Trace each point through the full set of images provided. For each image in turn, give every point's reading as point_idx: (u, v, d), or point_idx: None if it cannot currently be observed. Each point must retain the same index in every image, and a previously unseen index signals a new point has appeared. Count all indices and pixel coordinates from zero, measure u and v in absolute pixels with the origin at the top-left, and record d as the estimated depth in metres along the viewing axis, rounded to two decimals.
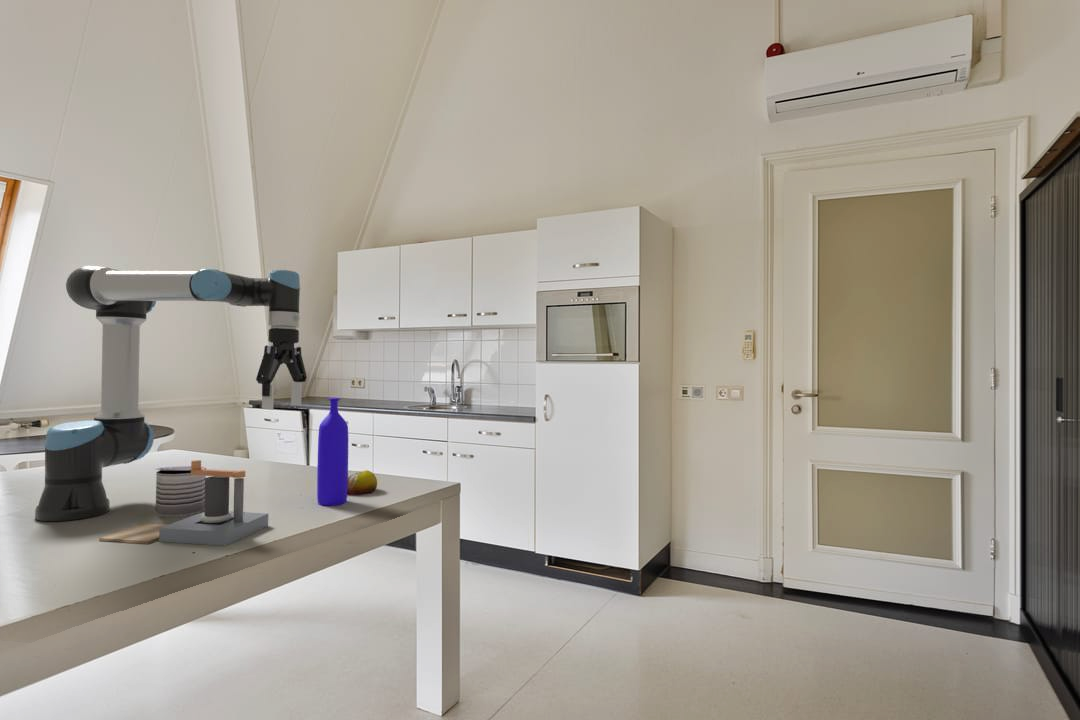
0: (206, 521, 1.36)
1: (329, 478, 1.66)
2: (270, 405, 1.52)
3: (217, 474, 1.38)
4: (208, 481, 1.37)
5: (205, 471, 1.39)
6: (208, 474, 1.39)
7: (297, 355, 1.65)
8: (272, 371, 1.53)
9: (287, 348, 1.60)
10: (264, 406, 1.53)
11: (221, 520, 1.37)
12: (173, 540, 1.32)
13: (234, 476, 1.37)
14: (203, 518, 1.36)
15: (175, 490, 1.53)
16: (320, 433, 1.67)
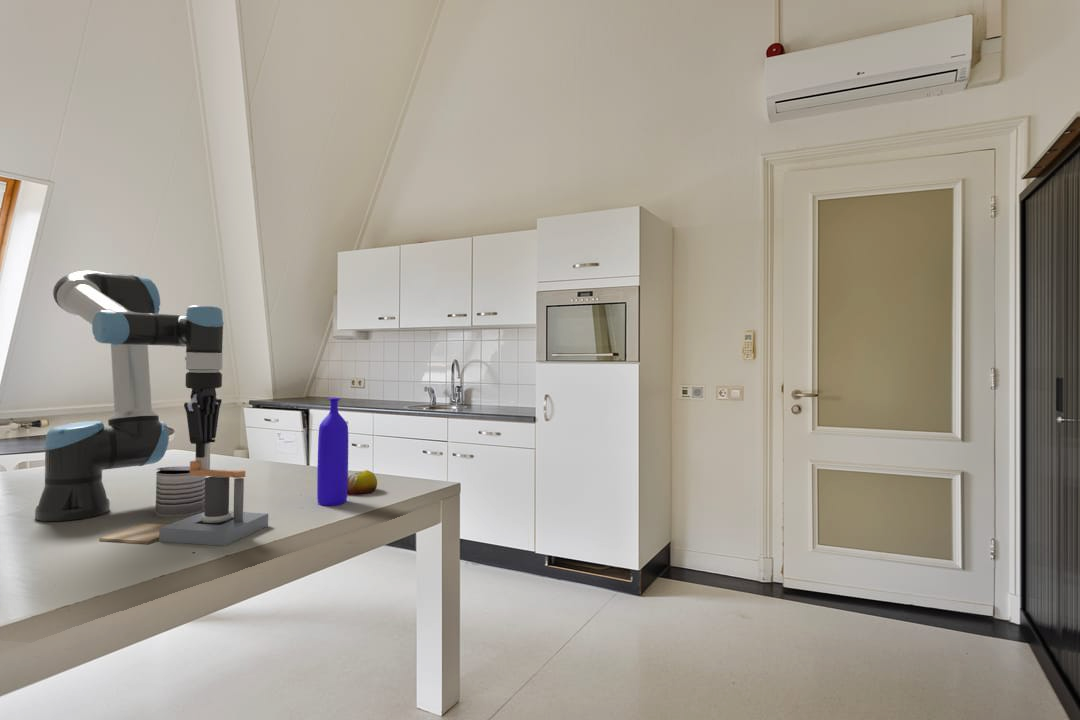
0: (206, 521, 1.36)
1: (329, 478, 1.66)
2: None
3: (217, 474, 1.38)
4: (208, 481, 1.37)
5: (204, 471, 1.38)
6: (207, 475, 1.38)
7: None
8: None
9: None
10: None
11: (221, 520, 1.37)
12: (173, 540, 1.32)
13: (234, 476, 1.37)
14: (203, 518, 1.36)
15: (175, 490, 1.53)
16: (320, 433, 1.67)
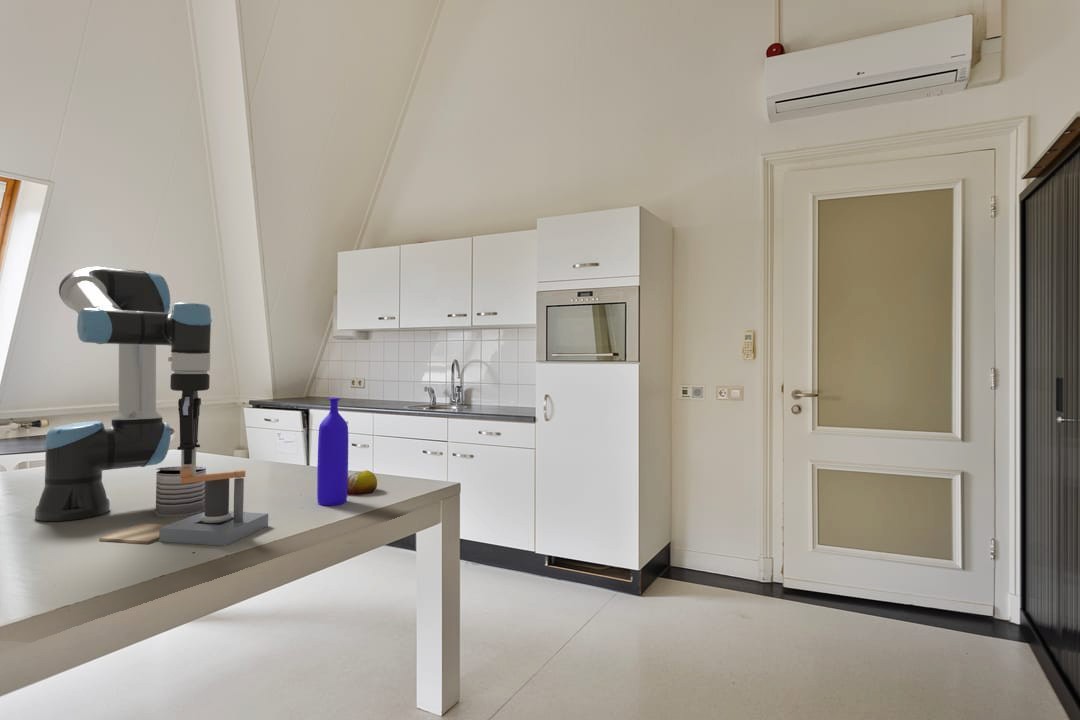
0: (206, 521, 1.36)
1: (329, 478, 1.66)
2: None
3: (216, 477, 1.34)
4: (208, 481, 1.37)
5: (201, 477, 1.32)
6: (205, 480, 1.33)
7: None
8: None
9: None
10: None
11: (221, 520, 1.37)
12: (173, 540, 1.32)
13: (239, 476, 1.37)
14: (203, 518, 1.36)
15: (175, 490, 1.53)
16: (320, 433, 1.67)
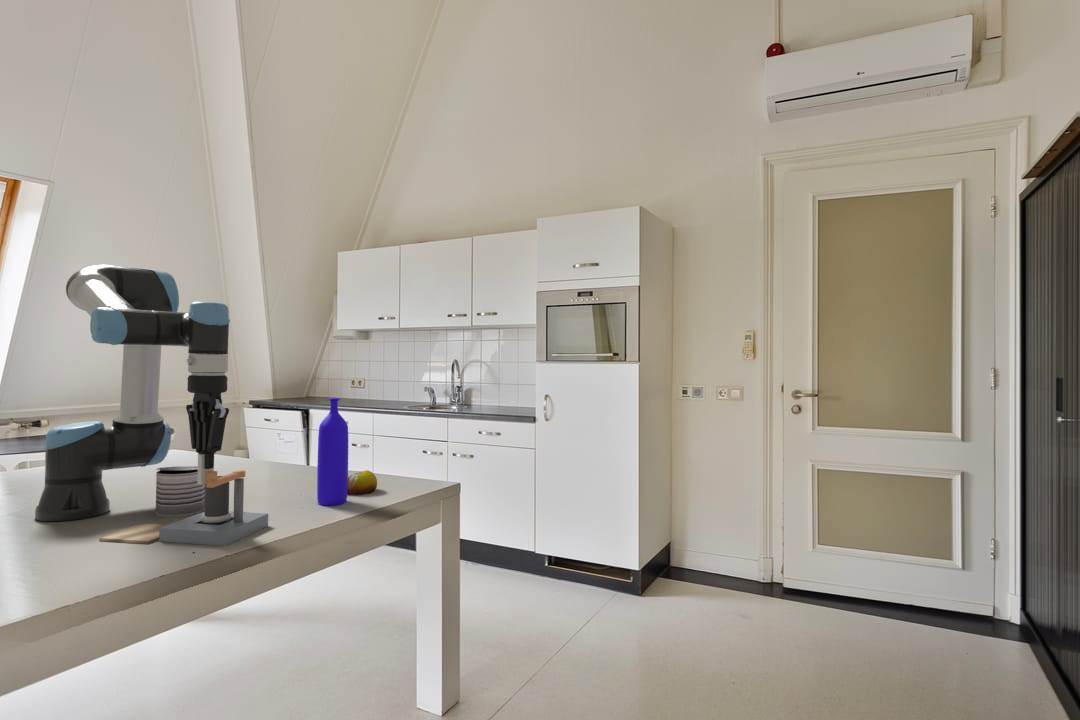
0: (206, 521, 1.36)
1: (329, 478, 1.66)
2: None
3: (230, 479, 1.33)
4: None
5: (222, 479, 1.30)
6: (224, 482, 1.31)
7: None
8: None
9: (202, 399, 1.27)
10: None
11: (221, 520, 1.37)
12: (173, 540, 1.32)
13: (243, 475, 1.38)
14: (203, 518, 1.36)
15: (175, 490, 1.53)
16: (320, 433, 1.67)
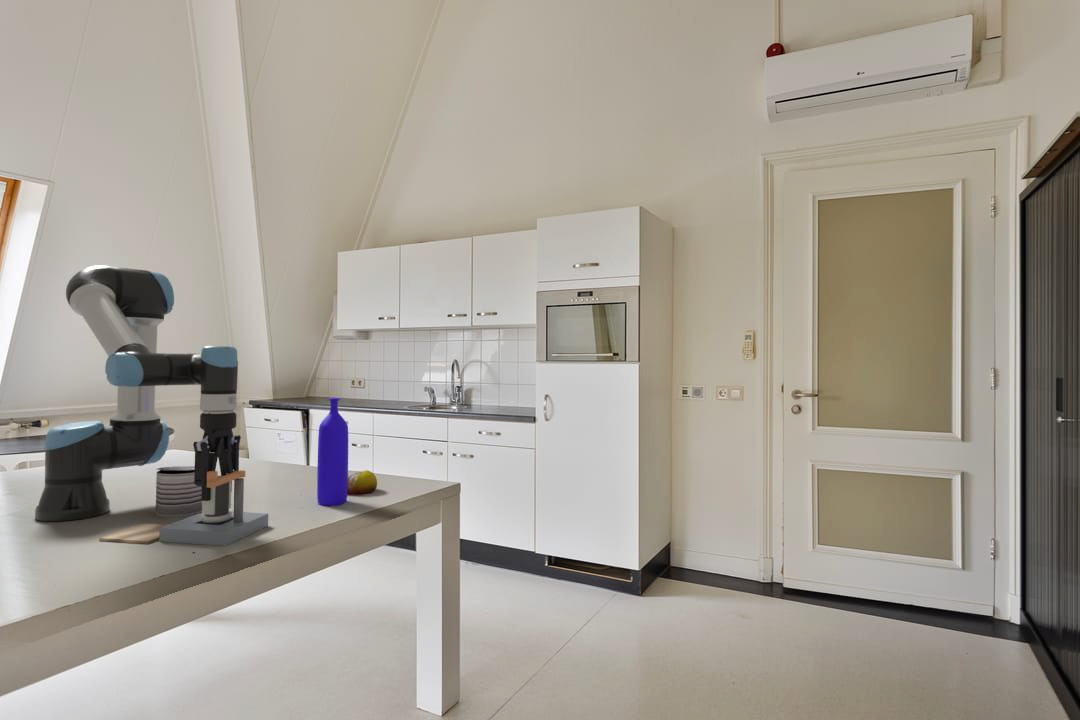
0: (206, 521, 1.36)
1: (329, 478, 1.66)
2: (211, 510, 1.36)
3: (230, 479, 1.33)
4: None
5: (222, 479, 1.30)
6: (224, 482, 1.31)
7: (234, 444, 1.44)
8: None
9: (222, 435, 1.39)
10: (204, 511, 1.36)
11: (221, 520, 1.37)
12: (173, 540, 1.32)
13: (243, 475, 1.38)
14: (203, 518, 1.36)
15: (175, 490, 1.53)
16: (320, 433, 1.67)
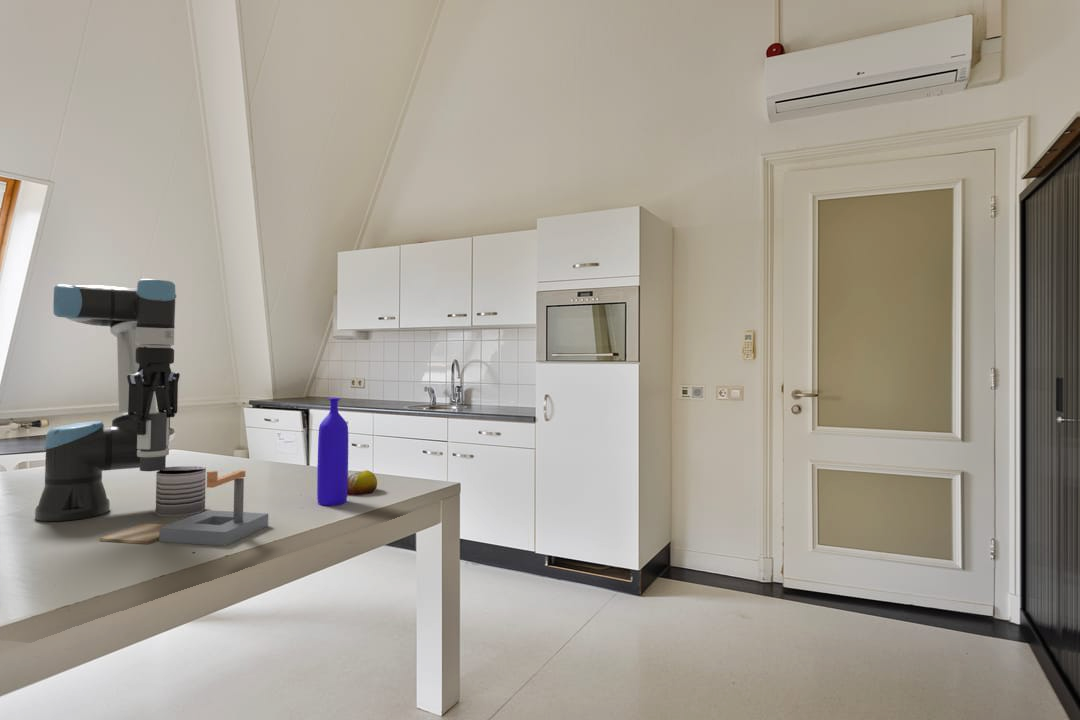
0: (141, 456, 1.35)
1: (329, 478, 1.66)
2: (146, 445, 1.34)
3: (230, 479, 1.33)
4: None
5: (222, 479, 1.30)
6: (224, 482, 1.31)
7: (172, 381, 1.42)
8: (145, 405, 1.34)
9: (159, 370, 1.37)
10: (139, 446, 1.35)
11: (157, 455, 1.36)
12: (173, 540, 1.32)
13: (243, 475, 1.38)
14: (138, 453, 1.35)
15: (175, 490, 1.53)
16: (320, 433, 1.67)
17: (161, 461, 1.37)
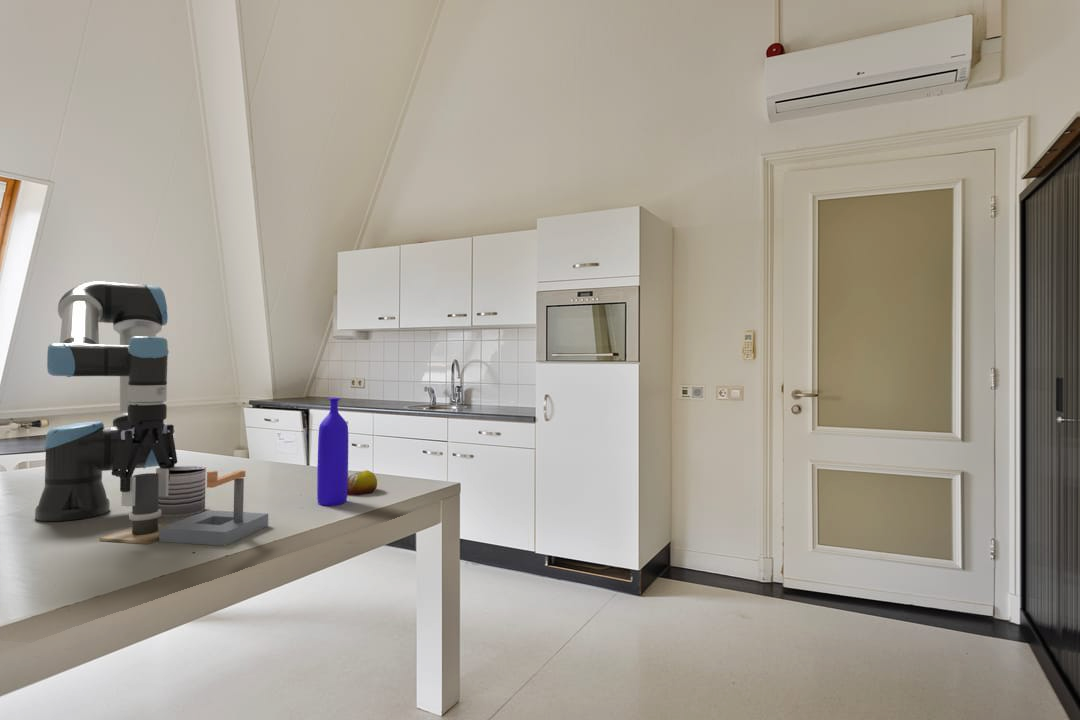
0: (133, 519, 1.34)
1: (329, 478, 1.66)
2: (131, 502, 1.32)
3: (230, 479, 1.33)
4: None
5: (222, 479, 1.30)
6: (224, 482, 1.31)
7: (167, 434, 1.42)
8: (131, 461, 1.32)
9: (151, 427, 1.37)
10: (124, 503, 1.32)
11: (149, 518, 1.35)
12: (173, 540, 1.32)
13: (243, 475, 1.38)
14: (130, 516, 1.35)
15: (175, 490, 1.53)
16: (320, 433, 1.67)
17: (153, 523, 1.36)
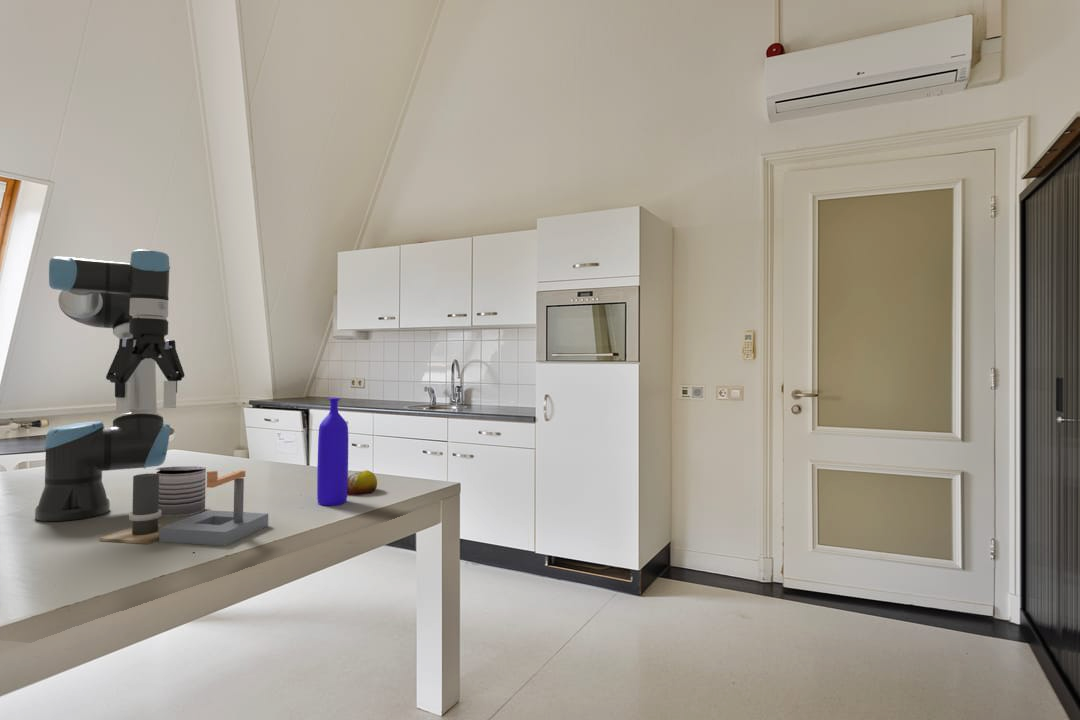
0: (133, 519, 1.34)
1: (329, 478, 1.66)
2: (125, 408, 1.30)
3: (230, 479, 1.33)
4: (135, 479, 1.35)
5: (222, 479, 1.30)
6: (224, 482, 1.31)
7: (170, 350, 1.43)
8: (128, 368, 1.31)
9: (153, 341, 1.37)
10: (119, 409, 1.30)
11: (149, 518, 1.35)
12: (173, 540, 1.32)
13: (243, 475, 1.38)
14: (130, 516, 1.34)
15: (175, 490, 1.52)
16: (320, 433, 1.67)
17: (153, 524, 1.36)
